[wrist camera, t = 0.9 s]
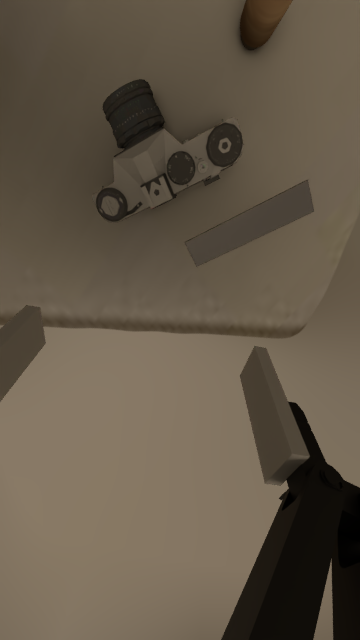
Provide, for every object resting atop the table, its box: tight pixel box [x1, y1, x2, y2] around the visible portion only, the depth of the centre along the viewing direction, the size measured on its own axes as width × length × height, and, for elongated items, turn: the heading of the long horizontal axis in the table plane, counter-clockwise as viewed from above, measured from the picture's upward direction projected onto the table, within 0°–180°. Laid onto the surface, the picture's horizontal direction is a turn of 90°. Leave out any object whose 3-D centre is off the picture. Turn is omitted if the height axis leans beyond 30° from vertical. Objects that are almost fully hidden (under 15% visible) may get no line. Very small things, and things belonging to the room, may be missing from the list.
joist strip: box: [185, 180, 314, 266], centre depth 33 cm, size 4×17×1 cm, turn 117°
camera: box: [92, 79, 244, 223], centre depth 25 cm, size 16×10×10 cm, turn 114°
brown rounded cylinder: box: [240, 0, 293, 50], centre depth 20 cm, size 3×3×8 cm
